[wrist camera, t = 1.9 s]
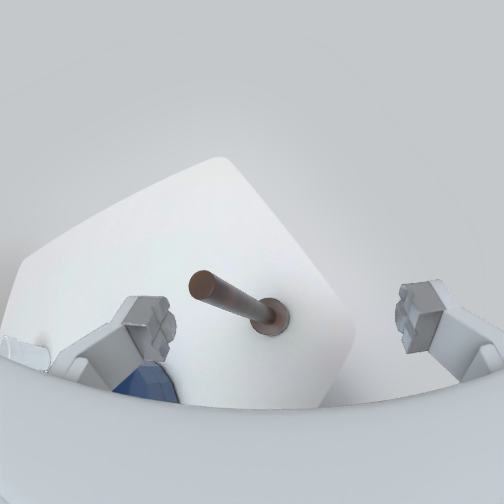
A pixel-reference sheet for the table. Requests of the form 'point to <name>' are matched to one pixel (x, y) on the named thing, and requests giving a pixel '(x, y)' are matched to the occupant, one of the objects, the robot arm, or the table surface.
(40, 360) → the cup
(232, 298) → the stick
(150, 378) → the bowl
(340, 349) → the table surface
